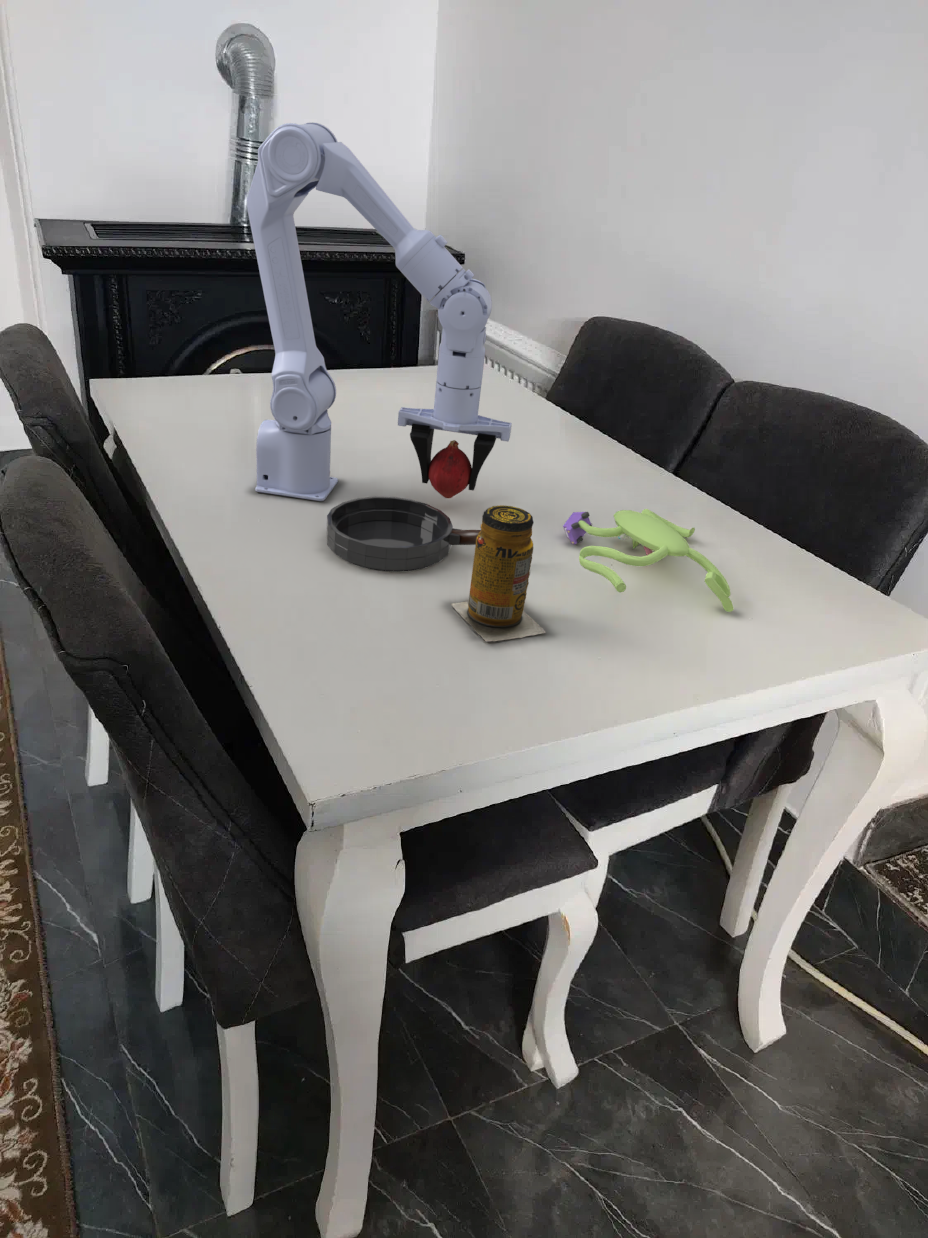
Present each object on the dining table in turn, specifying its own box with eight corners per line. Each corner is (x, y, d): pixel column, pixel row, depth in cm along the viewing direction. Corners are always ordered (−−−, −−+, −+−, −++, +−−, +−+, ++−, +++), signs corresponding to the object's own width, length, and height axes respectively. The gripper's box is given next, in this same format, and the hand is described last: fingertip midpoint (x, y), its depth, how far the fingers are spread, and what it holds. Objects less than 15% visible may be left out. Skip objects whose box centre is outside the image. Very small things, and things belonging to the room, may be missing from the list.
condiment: (508, 597, 104) (521, 498, 98) (546, 634, 98) (563, 530, 92) (450, 605, 101) (460, 504, 95) (485, 644, 95) (498, 538, 89)
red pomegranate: (464, 509, 121) (470, 451, 117) (421, 502, 121) (426, 444, 117) (472, 494, 126) (479, 438, 122) (431, 487, 126) (436, 430, 122)
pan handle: (443, 546, 110) (445, 522, 109) (446, 539, 112) (448, 515, 111) (523, 558, 110) (526, 534, 108) (524, 551, 111) (528, 527, 110)
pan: (311, 562, 107) (312, 536, 105) (344, 513, 120) (345, 489, 118) (438, 582, 105) (441, 555, 104) (457, 530, 118) (460, 506, 117)
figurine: (578, 615, 102) (586, 570, 99) (551, 518, 125) (558, 479, 122) (740, 627, 103) (752, 583, 100) (684, 528, 126) (693, 491, 124)
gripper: (395, 382, 113) (389, 486, 120) (512, 399, 112) (499, 503, 119) (407, 369, 119) (399, 468, 126) (517, 384, 118) (504, 484, 125)
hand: (448, 484), depth 123 cm, fingers closed on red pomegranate, 5 cm apart
